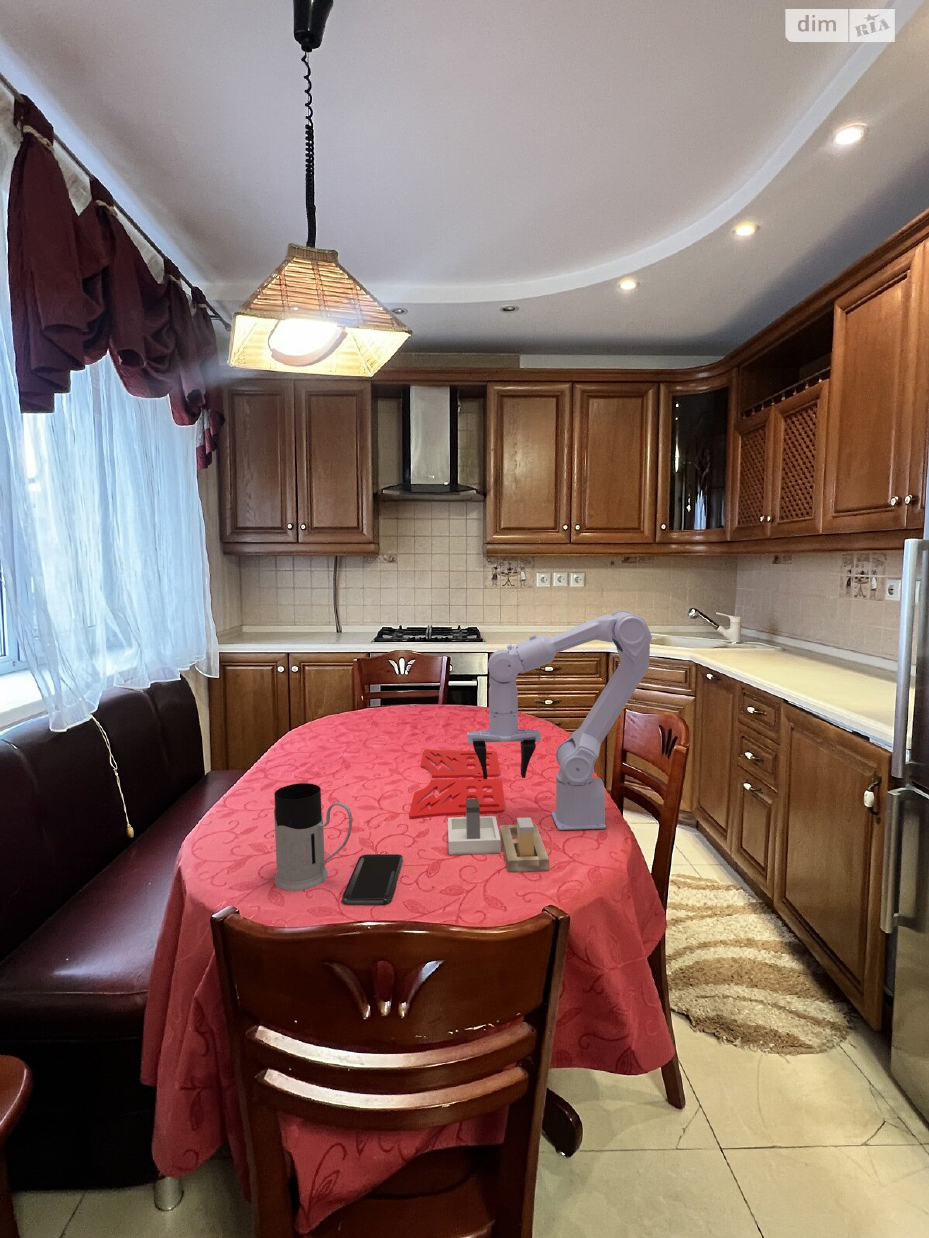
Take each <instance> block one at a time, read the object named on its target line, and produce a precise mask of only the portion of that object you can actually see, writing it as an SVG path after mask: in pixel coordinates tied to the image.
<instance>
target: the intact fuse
mask: <svg viewBox="0 0 929 1238" xmlns="http://www.w3.org/2000/svg"><path fill="white" fill-rule="evenodd" d="M533 824H534V823H533V821H532V819H531V817H517V818H516V825H517V838H516V840H517V854H516V855H517V857H531V856H534V827H533Z"/></svg>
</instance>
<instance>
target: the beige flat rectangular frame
mask: <svg viewBox="0 0 929 1238" xmlns="http://www.w3.org/2000/svg"><path fill="white" fill-rule="evenodd" d="M532 824H533V827H534V856H531V857H518V856H517V824H501V825H499V835H500V840H501V845H502V850H503V855H504V859H505V860H504V861H505V865H506V868H507V872H508V873H518V872H541V871H542V872H543V871H547V872H548V871H549V870H550V858H549V856H548V853H547V850H546V848H545V845H544V842H543V838H542V836H541V834H540V832H539V829H538V826H537V825H538V824H536V823H532ZM515 838H516V839H515Z"/></svg>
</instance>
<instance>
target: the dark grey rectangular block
mask: <svg viewBox="0 0 929 1238" xmlns="http://www.w3.org/2000/svg"><path fill="white" fill-rule="evenodd" d="M480 815H481V814H480V807H479V800H478V799H476V798H468V799H466V815H465V817H466V836H467V839H480V817H481V816H480Z"/></svg>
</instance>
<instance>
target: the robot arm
mask: <svg viewBox="0 0 929 1238" xmlns="http://www.w3.org/2000/svg"><path fill="white" fill-rule="evenodd" d="M649 628H650V627H649V625H648V623H647V622H646V620H645V619H644V618H643V617H641V616H640V615H637V614H632V613H631V612H629V611H626V610H617V611H615V612H613V613H611V614H608V613H607V614H604V615H601V616H599V617H598V616H597V617H596V618H593V619H591V620H589V621H586V622H583V623H582V624H579V625H577V626H575V627H573V628H570V629H568V630H566V631H563V632H561V633H558V634H557V635H554V636H552V637H548V636H545V635H543V634H540V635H538V636H537V635H536V634H535V633H534V634H531V635H529V636H528V638H529V639H527V640H525V641H522V642H520V643H517V644H515V645H512V644H507V646H506V648H507V649H498V650H496V651H494V652H493V653H492V654H491V655H490V656H489V659H488V662H487V667H488V672H489V680H488V683H489V688H488V712H489V713H488V715H489V716H488V722H489V723H488V724H489V729H483V730H475V731H467V732H466V734H467V736H466V737H467V738H466V739H467V744H468V745H473V751H475V752H476V754H477V756H478V759H479V761H480V764H481V768H482V770H483V778H484V779H488V777H487V767H488V766H486V761H487V759H486V751H487V747H486V746H487V743H510V742H511V743H513V742H517V743H518V742H520V755H521V757H520V758H521V759H520V776H521V778H522V779H525V778H526V777H527V776H526V775H527V770H528V767H529V763H530V760H531V759H532V756H533V754H534V752H535V750H536V748H537V745H536V743H540V742H542V741H541V730H539V729H522V728H521V729H520V728H519V707H518V706H519V705H518V703H519V700H518V698H519V697H518V695H519V694H518V687H517V676H518V675H519V673H520V674H525V673H527V672H530V671H532V670H535V669H537V668H540V667H543V666H545V665H547V664H549V663H553V661H554V659H555V656H556V655H557V654H558V653H561V652H564V651H567V650H569V649H572V648H574V647H578V646H581V645H584V644H586V643H589V642H593V641H602V642H607V643H613V644H614V645H615V647H616V651H617V654H618V657H619V658H618V659H619V661H620V663H619V664H618V666H617V668H616V670H615V671H614V672H613V674H612V676H611V677H610V679H609V680H608V682H607V684H606V685H605V687H604V688H603V690H601V691H602V692H601V693H600V695H599V696H598V698H597V699H596V701H595V703H594V704H593V706H592V707H591V709H590V711H589V712H588V714H587V715H586V717H585V718H584V720H583V722H582V723H581V725H580V727H579V728H577V729H576V730H574V731H572V733H571V734H570V737H568V739H566V740H565V741H563V742H562V743H560V744H559V745H558V746H557V749H556V752H555V758H556V761H557V763H558V765H559V770H558V772H557V773H556V775H555V811H551V813H550V814H551V817H552V818H553V822H554V823H555V826H556V827H557V830H558V831H565V830H566V831H569V830H571V831H572V830H574V831H575V830H596V829H597V830H598V829H599V830H600V829H601V830H602V829H606V828H607V825H606V793H605V792H606V791H605V784H604V782H603V780H602V778H600V777H593V774H594V771H595V764H596V761H597V760H598V758H599V755H600V750H601V745H602V743H603V742H604V740H605V738H606V737H607V735H608V734H609V732H610V730H611V729H612V727H613V725H614V724H615V722H616V721H617V719H618V718H619V716H620V715H621V713H622V712H623V710H624V708H625V707H626V705H627V704H628V702H629V701H630V699H631V697H632V696H633V695H634V692H635V691H636V689H637V688H638V686H639V685H640V683H641V681H642V680H643V678H644V676H645V675H646V674H647V672H648V670H649V668H650V662H651V661H650V654H651V650H650V649H651V642H652V641H651V640H652V637H653V636H652V634H651V631H650V629H649Z"/></svg>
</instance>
